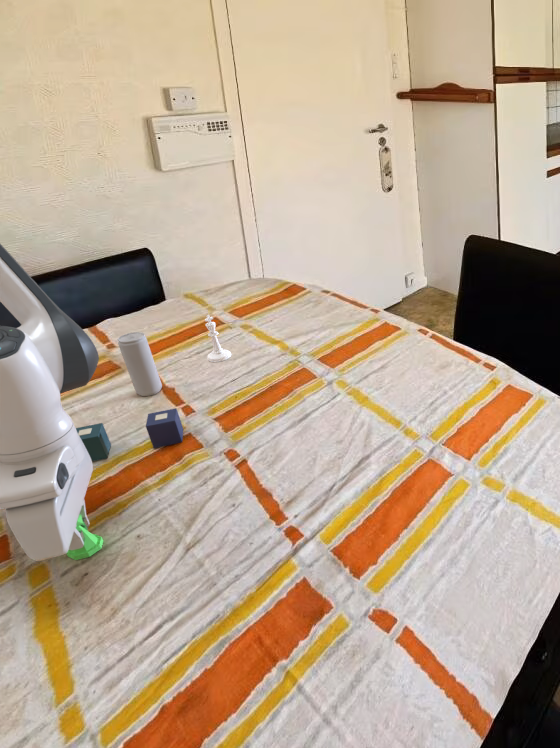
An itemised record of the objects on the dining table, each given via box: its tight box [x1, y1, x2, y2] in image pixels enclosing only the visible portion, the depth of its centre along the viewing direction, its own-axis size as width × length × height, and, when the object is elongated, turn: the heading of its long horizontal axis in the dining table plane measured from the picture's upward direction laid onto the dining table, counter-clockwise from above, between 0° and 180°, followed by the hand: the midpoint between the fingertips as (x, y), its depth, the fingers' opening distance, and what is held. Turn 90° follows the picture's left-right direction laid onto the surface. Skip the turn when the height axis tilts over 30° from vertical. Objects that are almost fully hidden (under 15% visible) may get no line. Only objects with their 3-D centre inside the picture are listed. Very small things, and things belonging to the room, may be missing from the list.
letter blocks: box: [75, 408, 184, 462], centre depth 106 cm, size 21×4×5 cm, turn 112°
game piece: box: [65, 514, 104, 561], centre depth 84 cm, size 4×4×6 cm
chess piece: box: [204, 314, 232, 363], centre depth 136 cm, size 5×5×10 cm
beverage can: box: [117, 331, 163, 397], centre depth 122 cm, size 5×5×12 cm
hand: (80, 537), depth 84 cm, fingers closed on game piece, 2 cm apart
